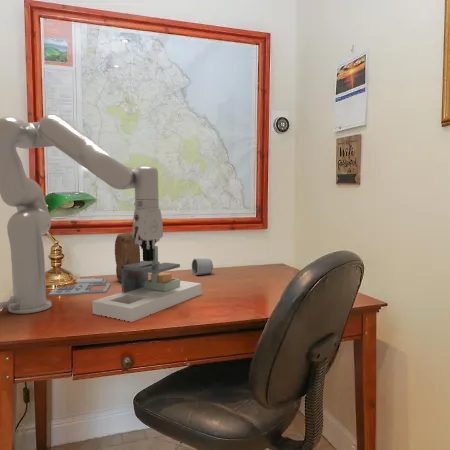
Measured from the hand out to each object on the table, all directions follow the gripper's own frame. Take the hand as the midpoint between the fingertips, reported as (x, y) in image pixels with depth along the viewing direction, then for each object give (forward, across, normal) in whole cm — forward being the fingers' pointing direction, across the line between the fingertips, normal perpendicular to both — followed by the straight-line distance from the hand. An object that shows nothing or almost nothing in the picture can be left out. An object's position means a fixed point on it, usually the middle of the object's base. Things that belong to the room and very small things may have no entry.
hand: (148, 260), depth 135 cm
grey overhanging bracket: (+11, +1, 0) cm, 11 cm away
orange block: (+11, +7, 0) cm, 13 cm away
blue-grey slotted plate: (+15, +5, +38) cm, 41 cm away
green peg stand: (+11, +7, 0) cm, 13 cm away
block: (+15, +21, +30) cm, 40 cm away
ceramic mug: (+15, +49, +13) cm, 53 cm away
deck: (+15, +1, 0) cm, 15 cm away
